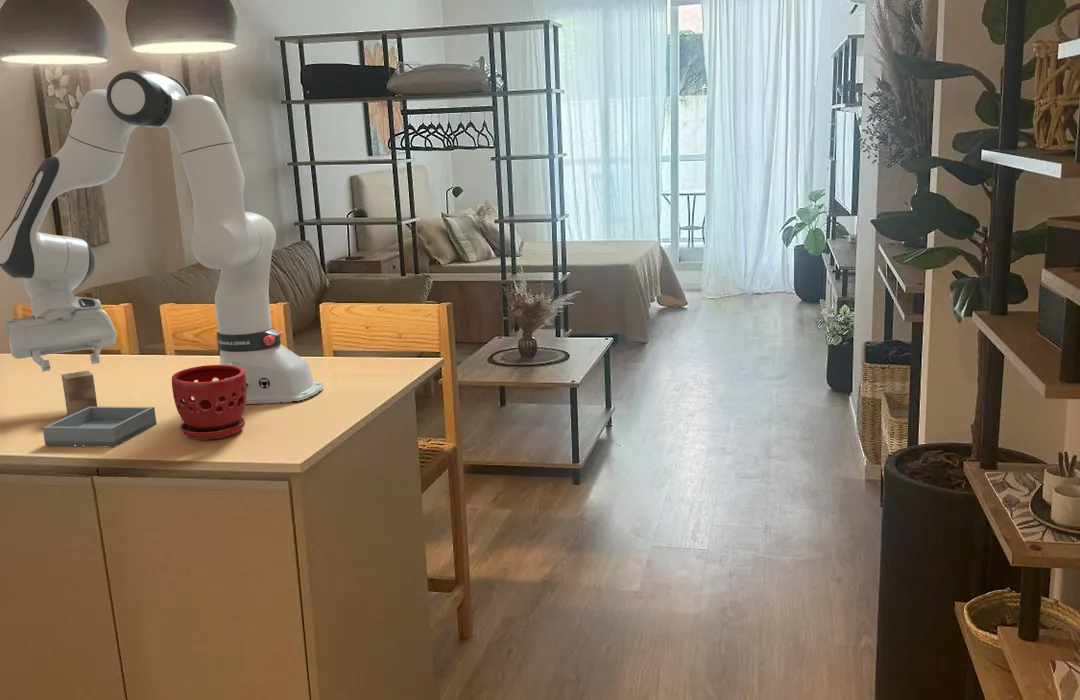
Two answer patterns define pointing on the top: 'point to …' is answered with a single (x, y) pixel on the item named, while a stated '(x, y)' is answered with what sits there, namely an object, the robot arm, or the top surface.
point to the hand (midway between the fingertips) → (71, 365)
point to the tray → (99, 426)
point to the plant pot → (210, 400)
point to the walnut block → (79, 391)
